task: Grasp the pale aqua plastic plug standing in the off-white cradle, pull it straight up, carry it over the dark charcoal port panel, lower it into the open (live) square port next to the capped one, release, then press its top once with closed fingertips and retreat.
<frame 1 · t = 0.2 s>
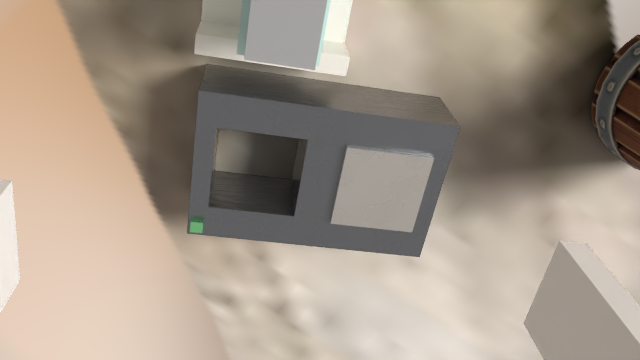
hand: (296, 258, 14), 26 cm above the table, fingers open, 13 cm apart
port panel: (314, 147, 42), on the table
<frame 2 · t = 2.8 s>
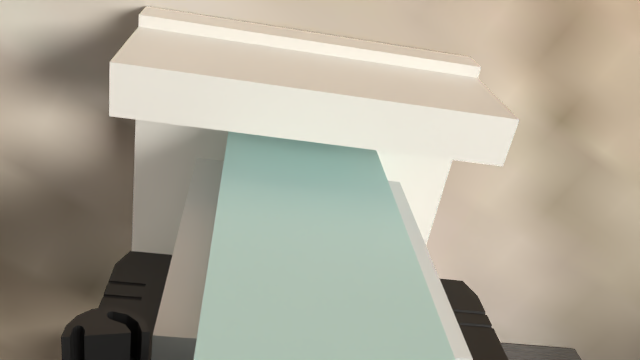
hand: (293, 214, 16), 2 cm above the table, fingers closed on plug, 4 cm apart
holster: (290, 176, 18), on the table
plug: (291, 192, 17), point 1 cm above the table, touching gripper, holster
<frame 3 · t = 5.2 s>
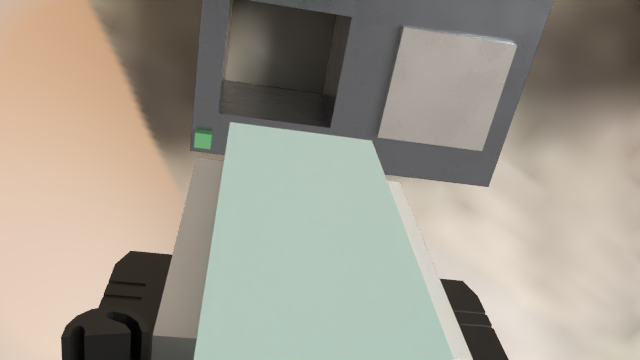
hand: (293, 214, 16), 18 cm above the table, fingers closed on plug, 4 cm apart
port panel: (352, 50, 33), on the table
plug: (291, 193, 17), point 17 cm above the table, touching gripper
when the fingers open (6 cm above the table, at t = 7.5 s): plug drops 5 cm, resting in port panel.
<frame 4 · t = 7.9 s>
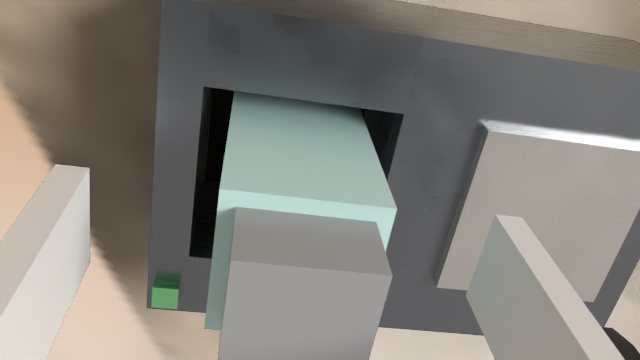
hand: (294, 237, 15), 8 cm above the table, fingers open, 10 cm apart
port panel: (390, 137, 22), on the table
plug: (286, 123, 22), resting in port panel
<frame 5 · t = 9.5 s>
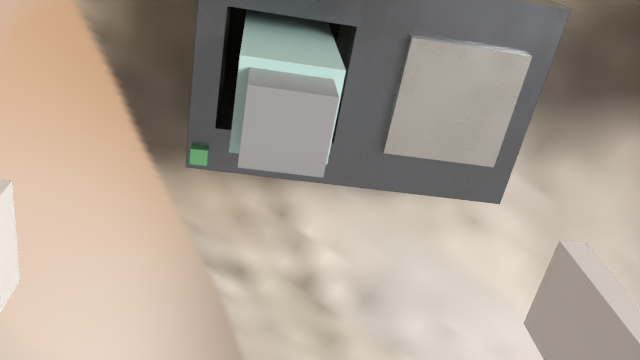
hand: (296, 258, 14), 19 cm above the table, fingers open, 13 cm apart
port panel: (356, 59, 31), on the table
plug: (281, 48, 31), resting in port panel
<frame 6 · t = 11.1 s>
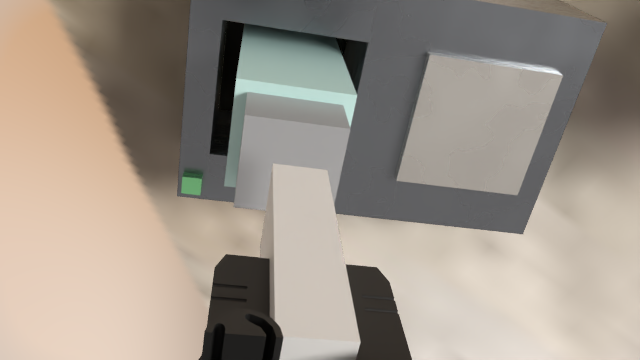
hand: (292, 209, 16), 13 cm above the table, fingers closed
port panel: (364, 74, 28), on the table
plug: (283, 63, 28), resting in port panel
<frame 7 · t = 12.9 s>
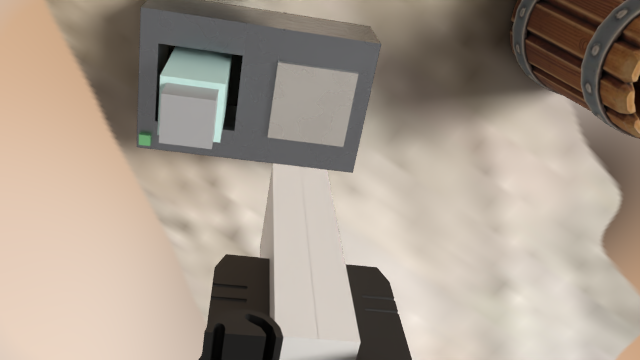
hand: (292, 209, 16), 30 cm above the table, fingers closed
port panel: (256, 74, 45), on the table
plug: (204, 67, 45), resting in port panel
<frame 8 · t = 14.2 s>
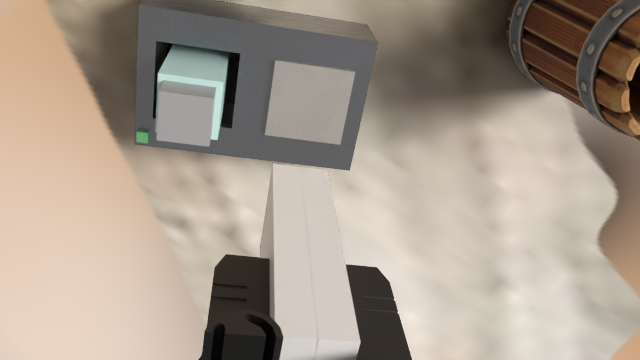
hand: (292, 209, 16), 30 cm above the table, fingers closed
port panel: (254, 72, 46), on the table
plug: (202, 65, 45), resting in port panel
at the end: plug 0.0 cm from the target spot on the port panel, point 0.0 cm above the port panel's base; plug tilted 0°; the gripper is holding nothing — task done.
